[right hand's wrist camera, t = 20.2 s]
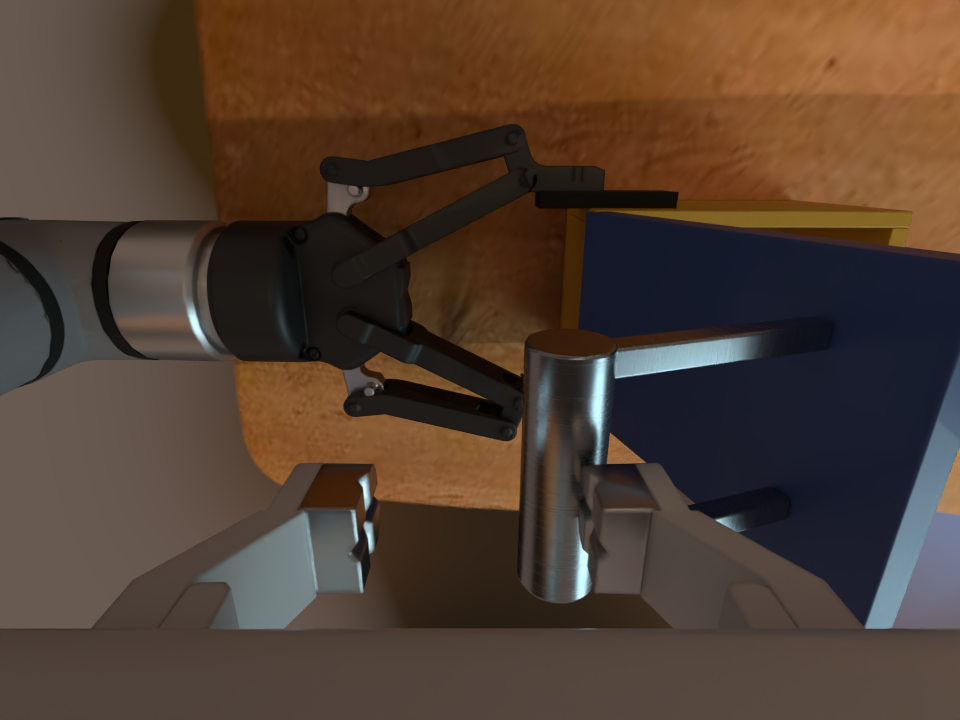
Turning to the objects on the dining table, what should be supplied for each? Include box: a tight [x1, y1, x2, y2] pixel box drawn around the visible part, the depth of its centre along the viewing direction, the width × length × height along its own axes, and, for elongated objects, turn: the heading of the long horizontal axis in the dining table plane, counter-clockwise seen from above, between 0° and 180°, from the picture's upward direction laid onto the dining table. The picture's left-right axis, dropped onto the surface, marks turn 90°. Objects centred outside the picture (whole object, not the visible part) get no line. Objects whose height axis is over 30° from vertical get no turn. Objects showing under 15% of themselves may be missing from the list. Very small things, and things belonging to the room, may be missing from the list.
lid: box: [517, 211, 960, 629], centre depth 16 cm, size 14×9×9 cm
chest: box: [560, 200, 913, 329], centre depth 29 cm, size 14×9×10 cm, turn 90°
